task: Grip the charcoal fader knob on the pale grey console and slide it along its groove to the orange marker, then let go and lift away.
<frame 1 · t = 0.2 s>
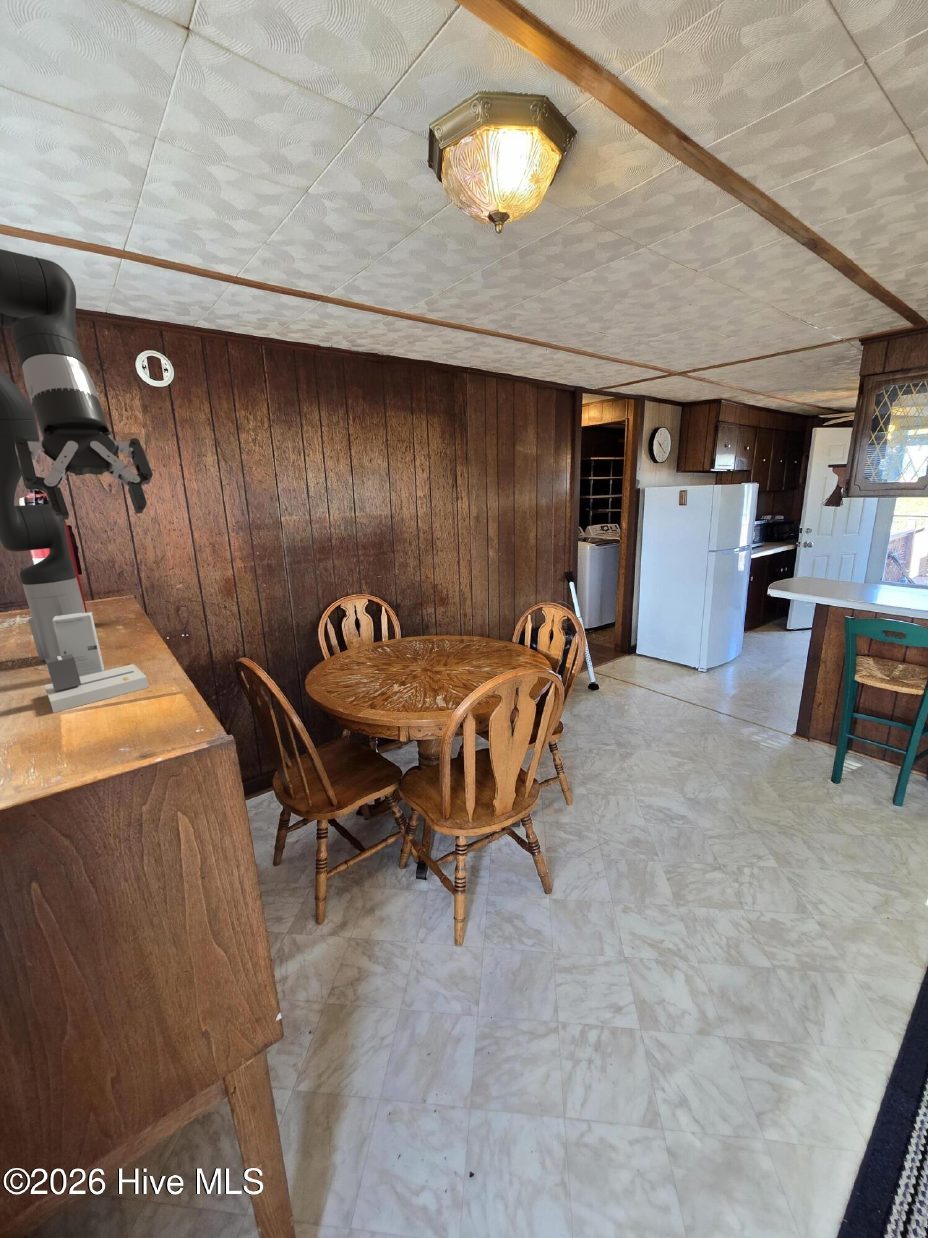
hand: (104, 514, 67), 31 cm above the table, tool tilted 20°, fingers open, 8 cm apart
fader console: (98, 691, 89), on the table
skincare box: (87, 674, 99), on the table
fader knob: (63, 671, 85), point 5 cm above the table, slide at -4.0 cm
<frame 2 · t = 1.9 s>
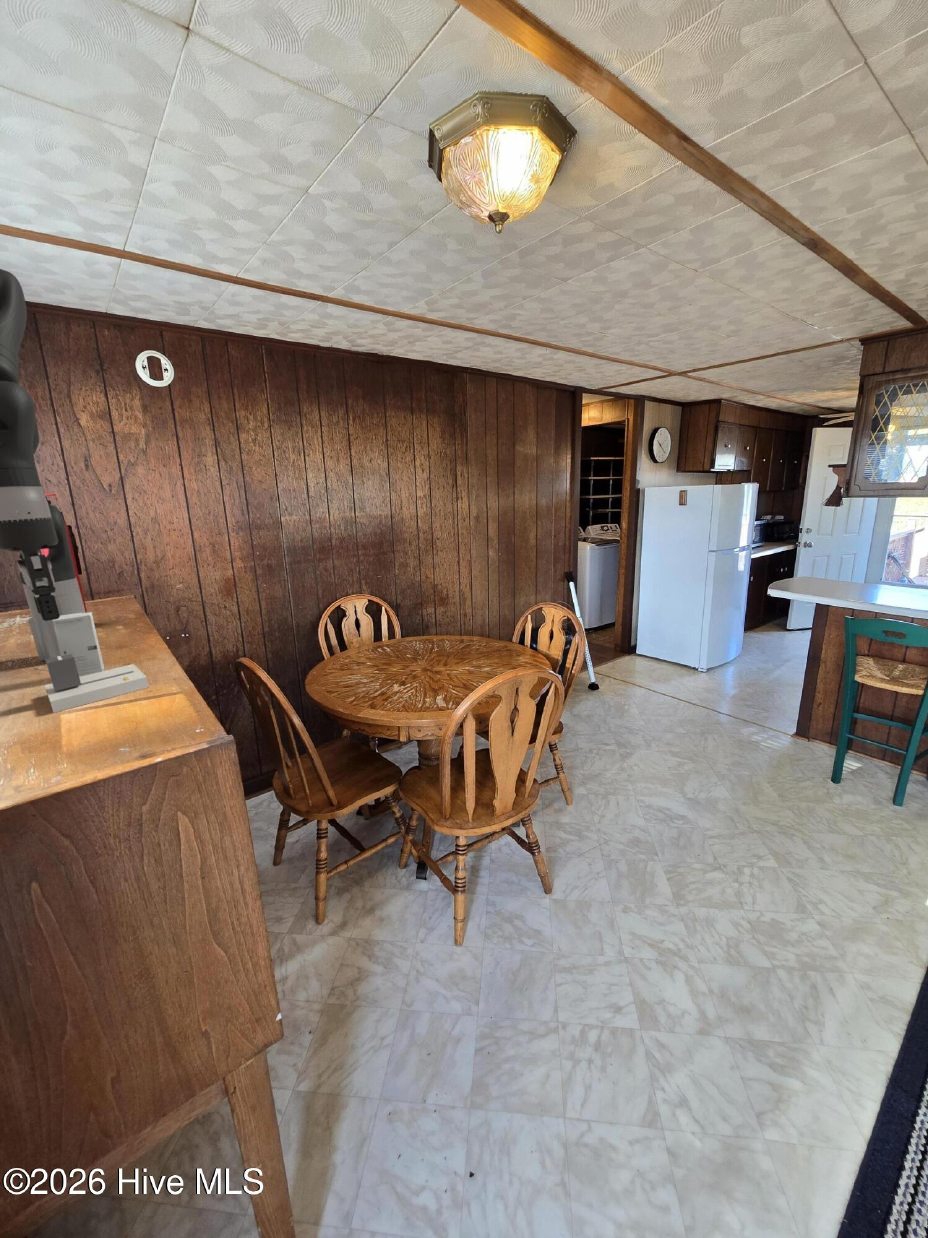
hand: (49, 616, 82), 15 cm above the table, tool pointing down, fingers open, 8 cm apart
nothing on the table moved.
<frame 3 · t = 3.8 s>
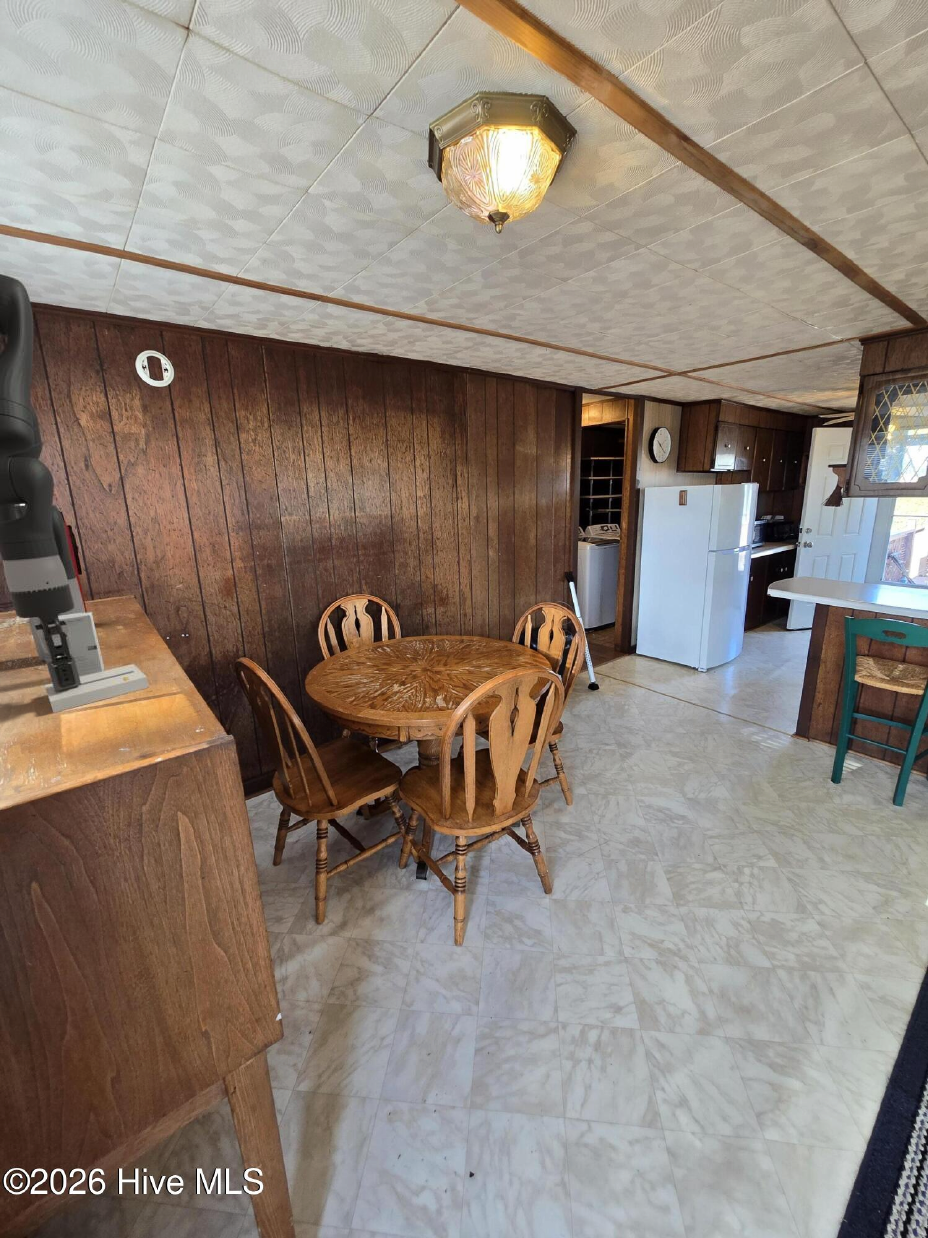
hand: (66, 682, 85), 3 cm above the table, tool pointing down, fingers closed on fader knob, 3 cm apart
fader knob: (63, 671, 85), point 5 cm above the table, slide at -4.0 cm, touching gripper
everything else where it was.
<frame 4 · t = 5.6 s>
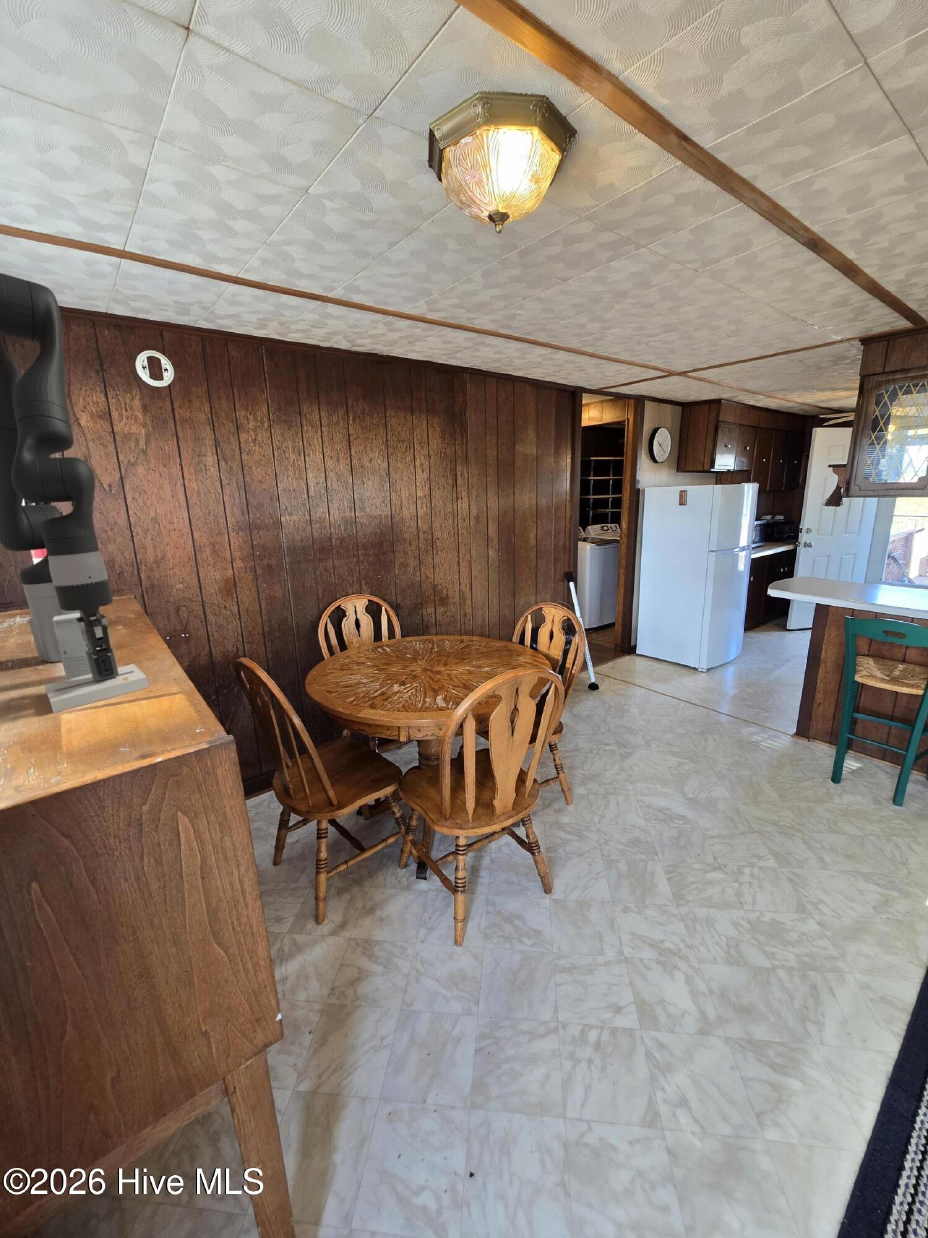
hand: (105, 673, 89), 3 cm above the table, tool pointing down, fingers closed on fader knob, 3 cm apart
fader knob: (102, 663, 88), point 5 cm above the table, slide at 1.5 cm, touching gripper
everything else where it was.
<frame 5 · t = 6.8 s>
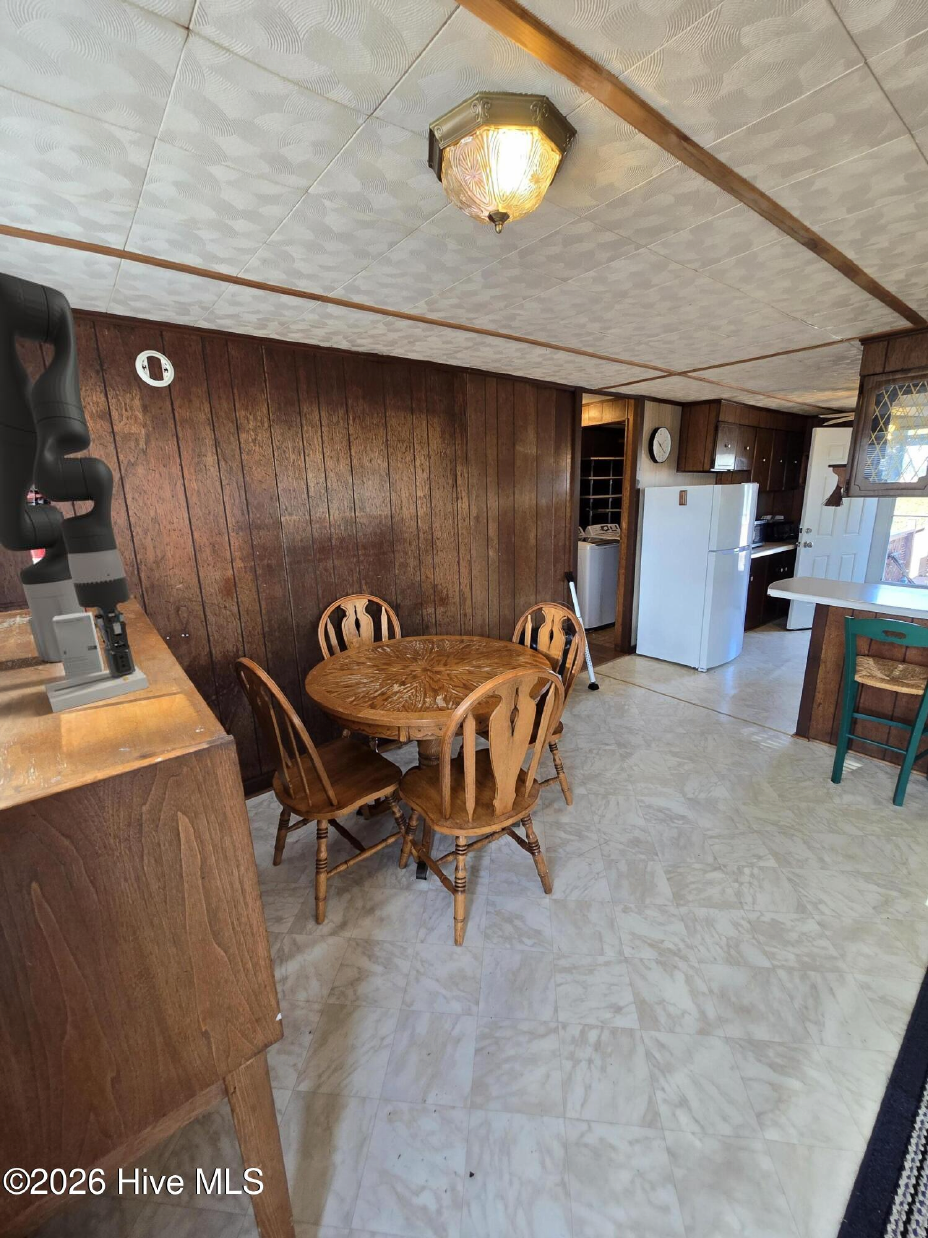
hand: (122, 669, 91), 3 cm above the table, tool pointing down, fingers closed on fader knob, 3 cm apart
fader knob: (119, 659, 90), point 5 cm above the table, slide at 4.1 cm, touching gripper
everything else where it was.
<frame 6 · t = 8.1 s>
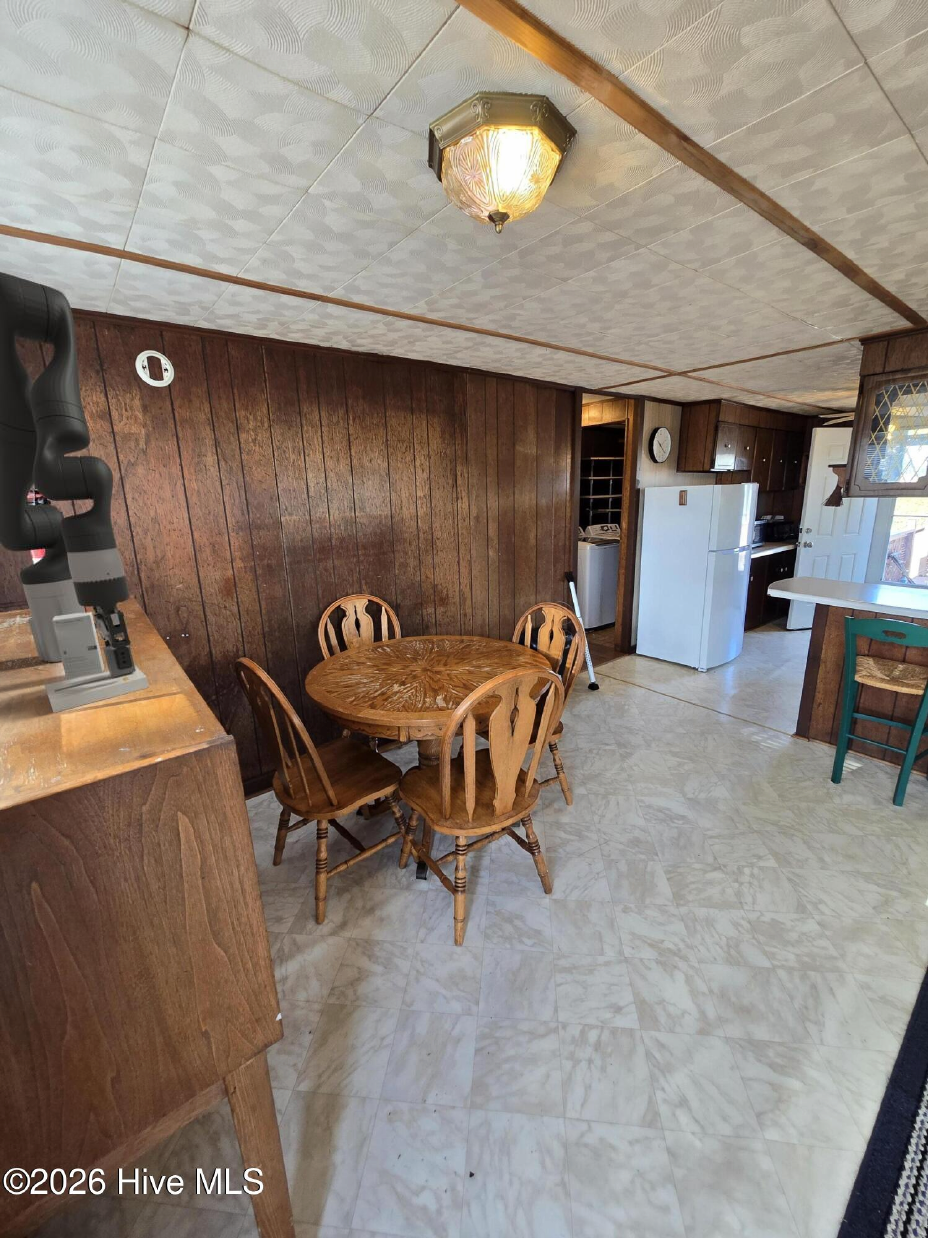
hand: (120, 663, 90), 4 cm above the table, tool pointing down, fingers open, 8 cm apart
fader knob: (119, 659, 90), point 5 cm above the table, slide at 4.2 cm
everything else where it was.
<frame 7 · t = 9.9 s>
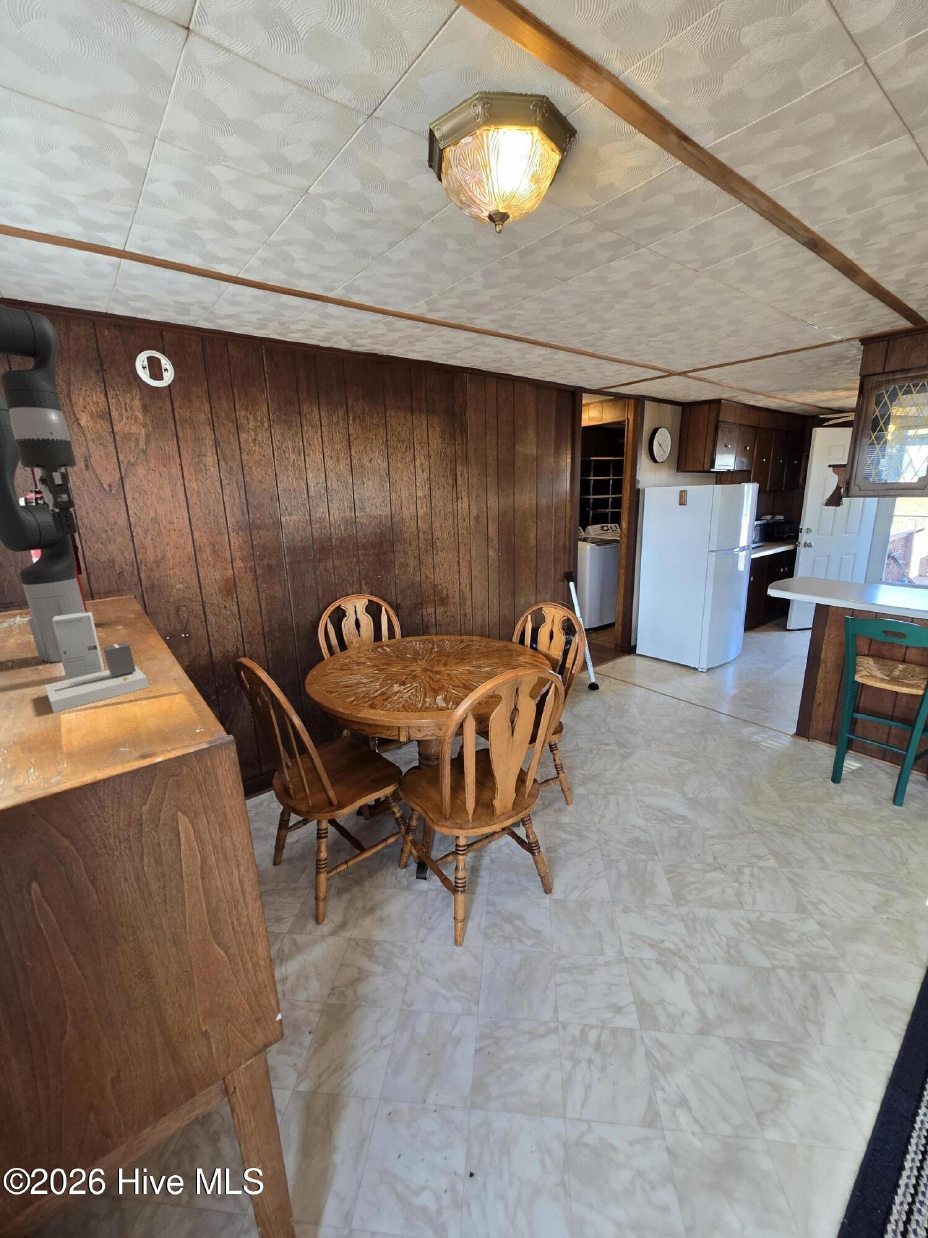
hand: (66, 533, 89), 28 cm above the table, tool pointing down, fingers open, 8 cm apart
nothing on the table moved.
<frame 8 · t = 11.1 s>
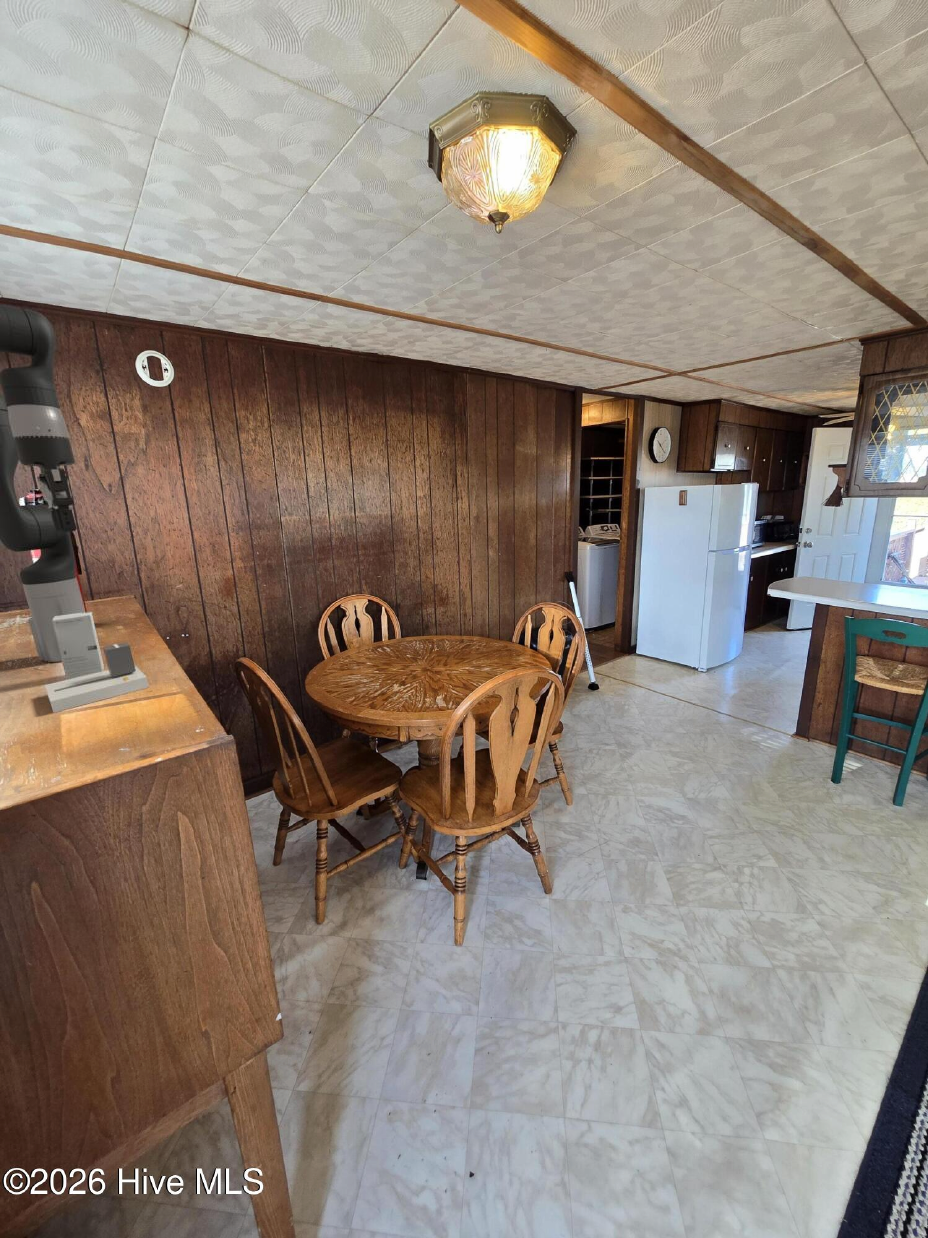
hand: (66, 531, 89), 28 cm above the table, tool pointing down, fingers open, 8 cm apart
nothing on the table moved.
at the end: fader knob slide at 4.2 cm; the gripper is holding nothing; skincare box moved 0.2 cm from its start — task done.
